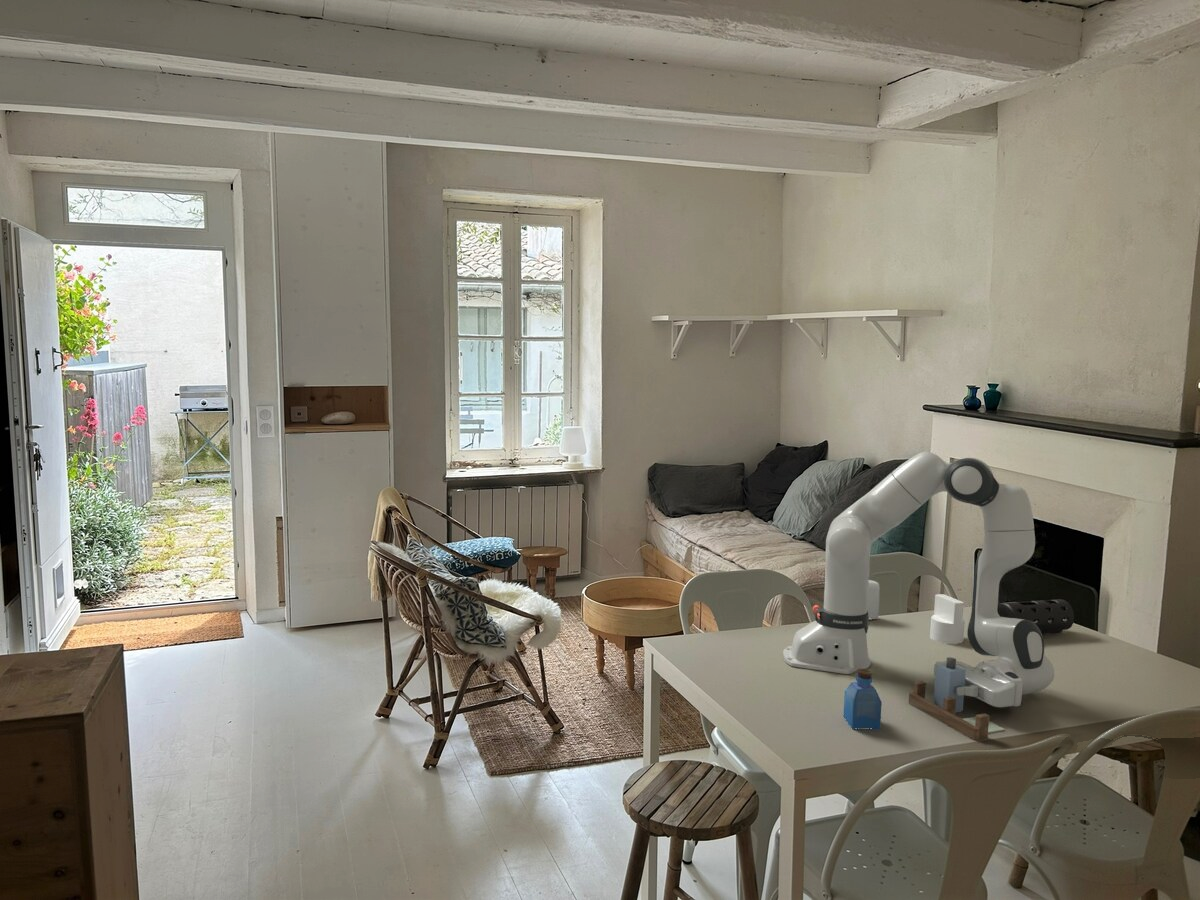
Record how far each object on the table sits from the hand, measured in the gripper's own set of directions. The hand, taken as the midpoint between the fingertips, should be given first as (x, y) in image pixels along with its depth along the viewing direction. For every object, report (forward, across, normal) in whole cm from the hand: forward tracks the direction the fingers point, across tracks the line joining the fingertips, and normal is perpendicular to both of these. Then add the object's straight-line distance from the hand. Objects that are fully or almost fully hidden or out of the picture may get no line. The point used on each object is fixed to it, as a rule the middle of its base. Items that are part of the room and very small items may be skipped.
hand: (946, 686), depth 204 cm
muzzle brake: (-61, -36, +6) cm, 71 cm away
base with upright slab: (-37, -40, +6) cm, 55 cm away
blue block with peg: (-1, 0, +6) cm, 6 cm away
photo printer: (-25, -63, +6) cm, 68 cm away
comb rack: (+1, +5, +5) cm, 7 cm away
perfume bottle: (+24, 0, +6) cm, 24 cm away
